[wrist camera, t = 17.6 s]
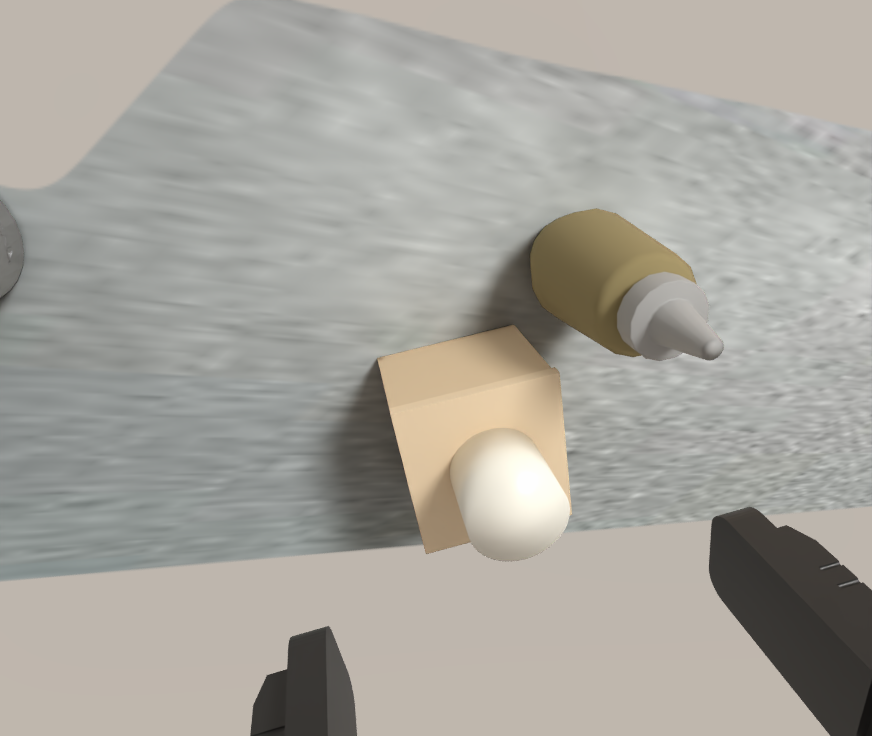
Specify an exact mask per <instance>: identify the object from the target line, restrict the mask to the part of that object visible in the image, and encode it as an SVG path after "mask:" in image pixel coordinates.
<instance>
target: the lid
mask: <svg viewBox="0 0 872 736" xmlns="http://www.w3.org/2000/svg"><path fill="white" fill-rule="evenodd" d="M389 410H390V415H391V419H392V423H393V427H394V431H395V434H396V438H397V442H398V446H399V450H400V454H401V458H402V462H403V466H404V470H405V474H406V478H407V482H408V486H409V490H410V493H411V497H412V501H413V505H414V509H415V513H416V517H417V521H418V525H419V529H420V533H421V537H422V541H423V545H424V548H425V552H426V554H429V553H432V552H436V551H439V550H443V549H447V548H451V547H454V546H458V545H462V544H466V543H469V542H471V541H470V539H469V536H468V533H467V530H466V527H465V524H464V521H463V518H462V515H461V512H460V509H459V505H458V502H457V499H456V496H455V493H454V490H453V487H452V484H451V480H450V465H451V462H452V459H453V457H454V455H455V453H456V452H457V450H458V449H459V448H460V447H461V445H462V444H463V443H465V442H466V441H467V440H468V439H470V438H471V437H472V436H474V435H476V434H478V433H480V432H482V431H486V430H489V429H494V428H511V429H515V430H518V431H520V432H523V433H524V434H526V435H527V436H529V437H530V438H531V439H532V440H533V442H534V443H535V444H536V446H537V448H538V449H539V451H540V453H541V454H542V456H543V458H544V459H545V461H546V463H547V464H548V466H549V468H550V469H551V471H552V473H553V474H554V476H555V478H556V479H557V481H558V483H559V484H560V486H561V488H562V489H563V491H564V493H565V494H566V496H567V498H568V501H569V505H570V515H572V510H571V499H570V487H569V476H568V464H567V453H566V442H565V430H564V419H563V408H562V396H561V385H560V373H559V371H558V370H557V369H556V368H555V367H554V368H550V369H546V370H542V371H538V372H534V373H530V374H526V375H522V376H518V377H514V378H510V379H506V380H502V381H498V382H494V383H490V384H485V385H481V386H477V387H473V388H469V389H465V390H461V391H457V392H453V393H449V394H445V395H441V396H437V397H433V398H429V399H425V400H421V401H417V402H413V403H409V404H405V405H401V406H397V407H393V408H389Z"/></svg>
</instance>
